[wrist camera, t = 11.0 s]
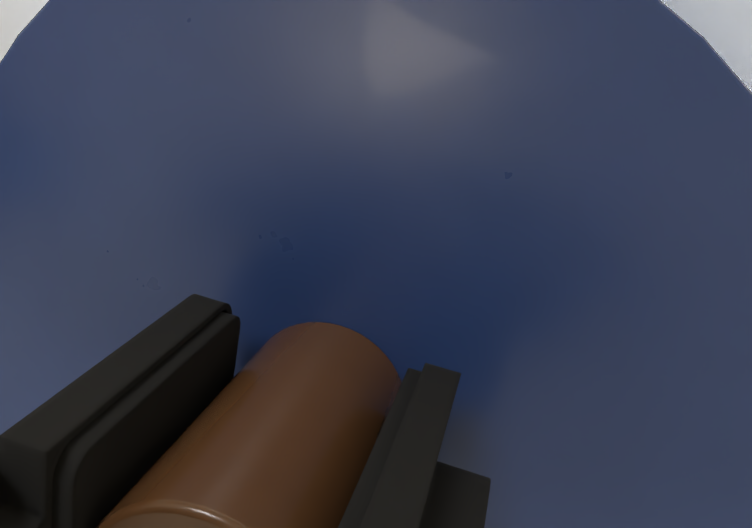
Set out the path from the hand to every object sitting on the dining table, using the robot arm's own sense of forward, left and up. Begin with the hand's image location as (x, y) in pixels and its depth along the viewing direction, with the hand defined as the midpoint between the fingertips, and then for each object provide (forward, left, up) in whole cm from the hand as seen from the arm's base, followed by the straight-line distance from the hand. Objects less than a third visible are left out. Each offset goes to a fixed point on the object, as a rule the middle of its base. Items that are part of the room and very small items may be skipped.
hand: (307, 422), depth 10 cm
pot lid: (0, 0, -2) cm, 2 cm away
